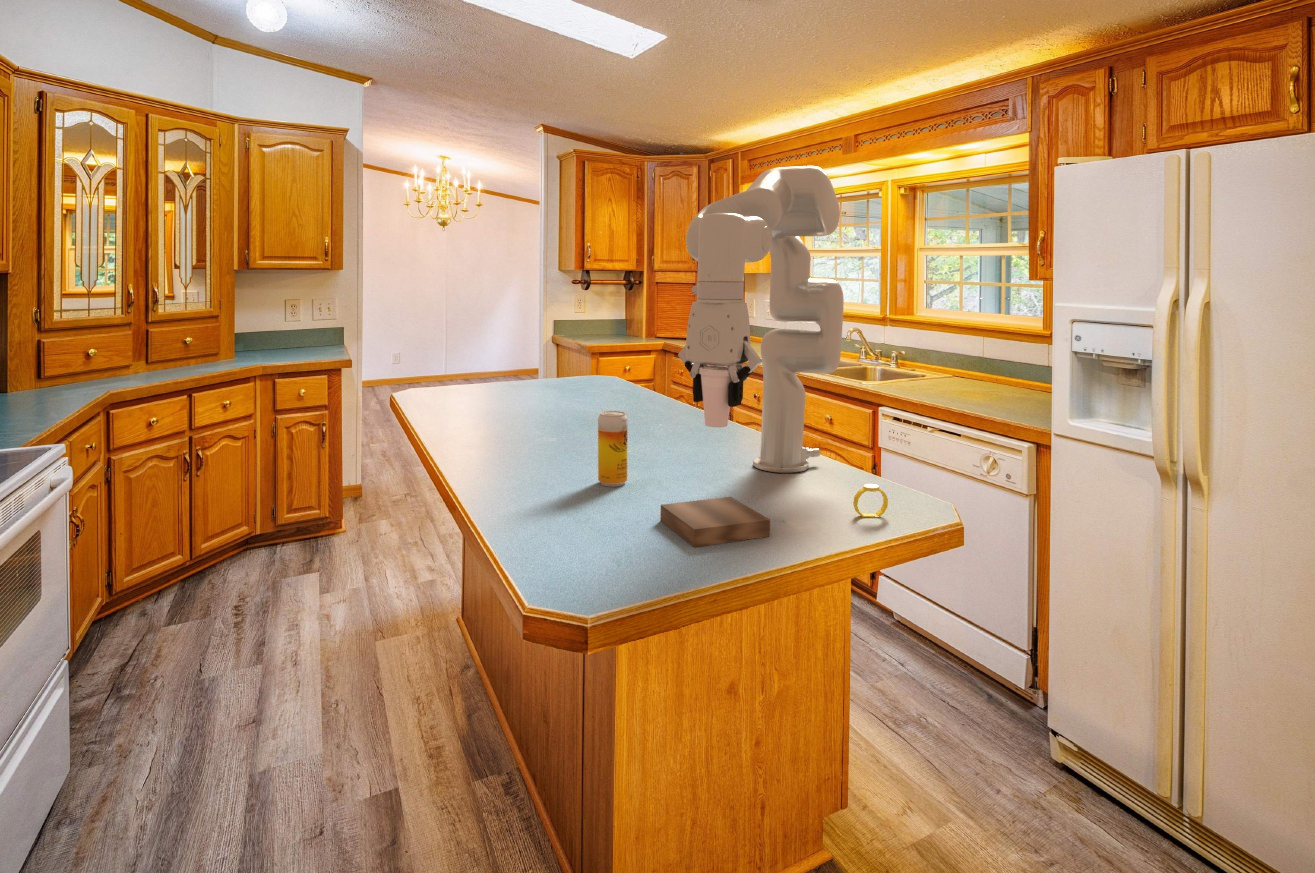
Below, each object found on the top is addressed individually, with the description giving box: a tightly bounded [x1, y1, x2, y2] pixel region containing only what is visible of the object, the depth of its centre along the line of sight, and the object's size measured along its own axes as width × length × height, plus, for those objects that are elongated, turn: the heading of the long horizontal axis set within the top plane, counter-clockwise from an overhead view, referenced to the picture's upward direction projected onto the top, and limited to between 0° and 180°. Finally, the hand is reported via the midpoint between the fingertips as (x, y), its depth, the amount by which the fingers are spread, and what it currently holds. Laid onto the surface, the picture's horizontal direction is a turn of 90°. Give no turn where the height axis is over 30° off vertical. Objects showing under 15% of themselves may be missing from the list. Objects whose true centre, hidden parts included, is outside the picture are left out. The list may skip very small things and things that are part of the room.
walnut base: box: [660, 496, 771, 548], centre depth 126 cm, size 14×14×3 cm
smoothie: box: [699, 364, 732, 428], centre depth 121 cm, size 6×6×14 cm
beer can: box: [597, 410, 628, 488], centre depth 151 cm, size 6×6×15 cm
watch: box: [853, 483, 889, 518], centre depth 133 cm, size 6×3×6 cm, turn 93°
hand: (717, 402), depth 121 cm, fingers closed on smoothie, 6 cm apart
